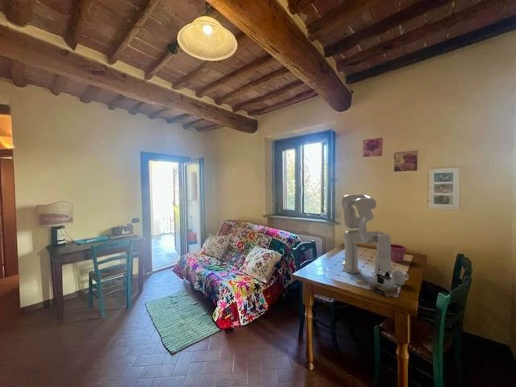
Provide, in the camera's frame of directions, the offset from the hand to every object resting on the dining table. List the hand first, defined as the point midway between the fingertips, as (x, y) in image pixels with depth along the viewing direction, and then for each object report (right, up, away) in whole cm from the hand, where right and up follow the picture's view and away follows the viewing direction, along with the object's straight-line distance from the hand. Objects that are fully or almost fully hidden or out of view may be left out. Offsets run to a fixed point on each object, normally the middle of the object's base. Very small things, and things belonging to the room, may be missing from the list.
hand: (383, 281), depth 142 cm
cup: (+17, -6, +11) cm, 21 cm away
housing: (0, -2, 0) cm, 2 cm away
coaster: (-8, -6, +13) cm, 16 cm away
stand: (0, -6, 0) cm, 6 cm away
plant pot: (+43, -4, +56) cm, 71 cm away
